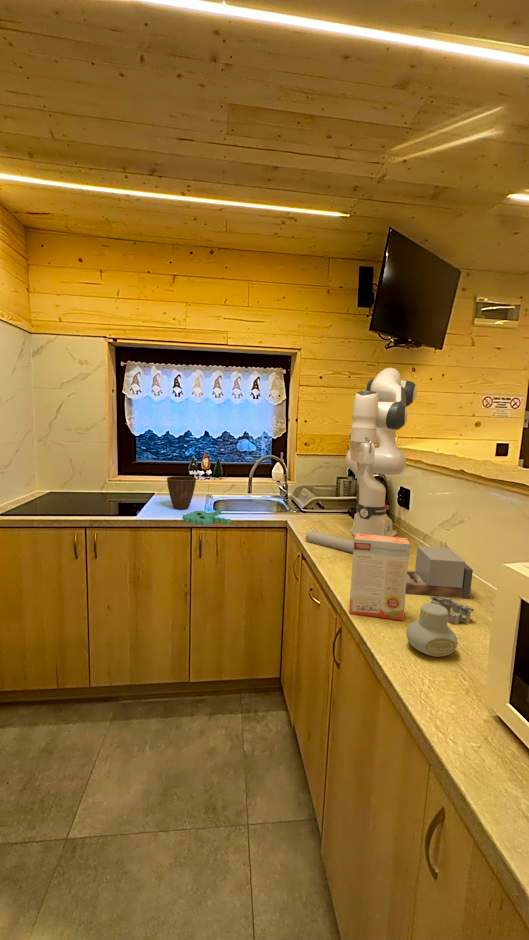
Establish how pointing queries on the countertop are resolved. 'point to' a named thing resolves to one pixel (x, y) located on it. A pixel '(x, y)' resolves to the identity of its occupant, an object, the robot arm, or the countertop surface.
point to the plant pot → (181, 491)
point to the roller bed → (421, 588)
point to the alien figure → (205, 518)
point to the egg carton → (453, 609)
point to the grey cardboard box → (439, 566)
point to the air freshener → (432, 631)
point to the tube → (330, 541)
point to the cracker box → (379, 576)
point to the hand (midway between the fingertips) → (360, 475)
